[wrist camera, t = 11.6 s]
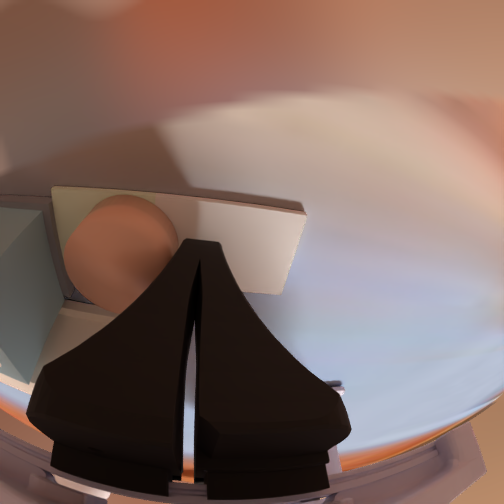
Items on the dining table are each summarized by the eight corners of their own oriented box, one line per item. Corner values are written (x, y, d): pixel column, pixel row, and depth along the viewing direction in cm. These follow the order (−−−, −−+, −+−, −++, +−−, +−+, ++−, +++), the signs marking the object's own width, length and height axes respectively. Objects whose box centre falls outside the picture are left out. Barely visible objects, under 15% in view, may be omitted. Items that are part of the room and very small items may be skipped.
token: (153, 293, 12) (144, 328, 10) (75, 252, 10) (56, 283, 9) (197, 228, 10) (192, 262, 8) (104, 175, 9) (79, 200, 7)
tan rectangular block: (166, 351, 15) (158, 430, 11) (10, 317, 13) (-17, 375, 9) (164, 315, 13) (150, 407, 9) (-7, 282, 11) (-43, 343, 7)
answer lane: (279, 290, 13) (280, 294, 12) (68, 265, 11) (65, 269, 11) (305, 211, 10) (307, 215, 10) (54, 185, 9) (50, 189, 8)
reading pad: (74, 289, 12) (70, 297, 11) (-4, 272, 11) (-8, 279, 10) (55, 197, 9) (48, 204, 8) (-27, 194, 8) (-34, 199, 7)
